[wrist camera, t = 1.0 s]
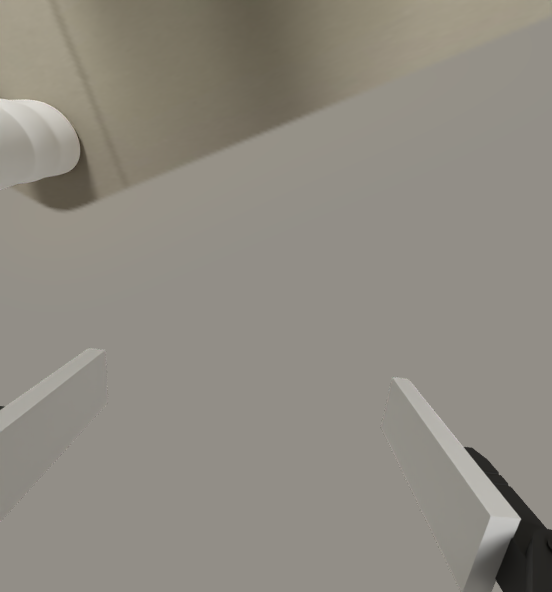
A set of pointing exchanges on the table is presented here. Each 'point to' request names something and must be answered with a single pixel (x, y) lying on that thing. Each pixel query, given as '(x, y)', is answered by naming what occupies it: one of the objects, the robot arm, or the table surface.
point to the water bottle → (34, 142)
